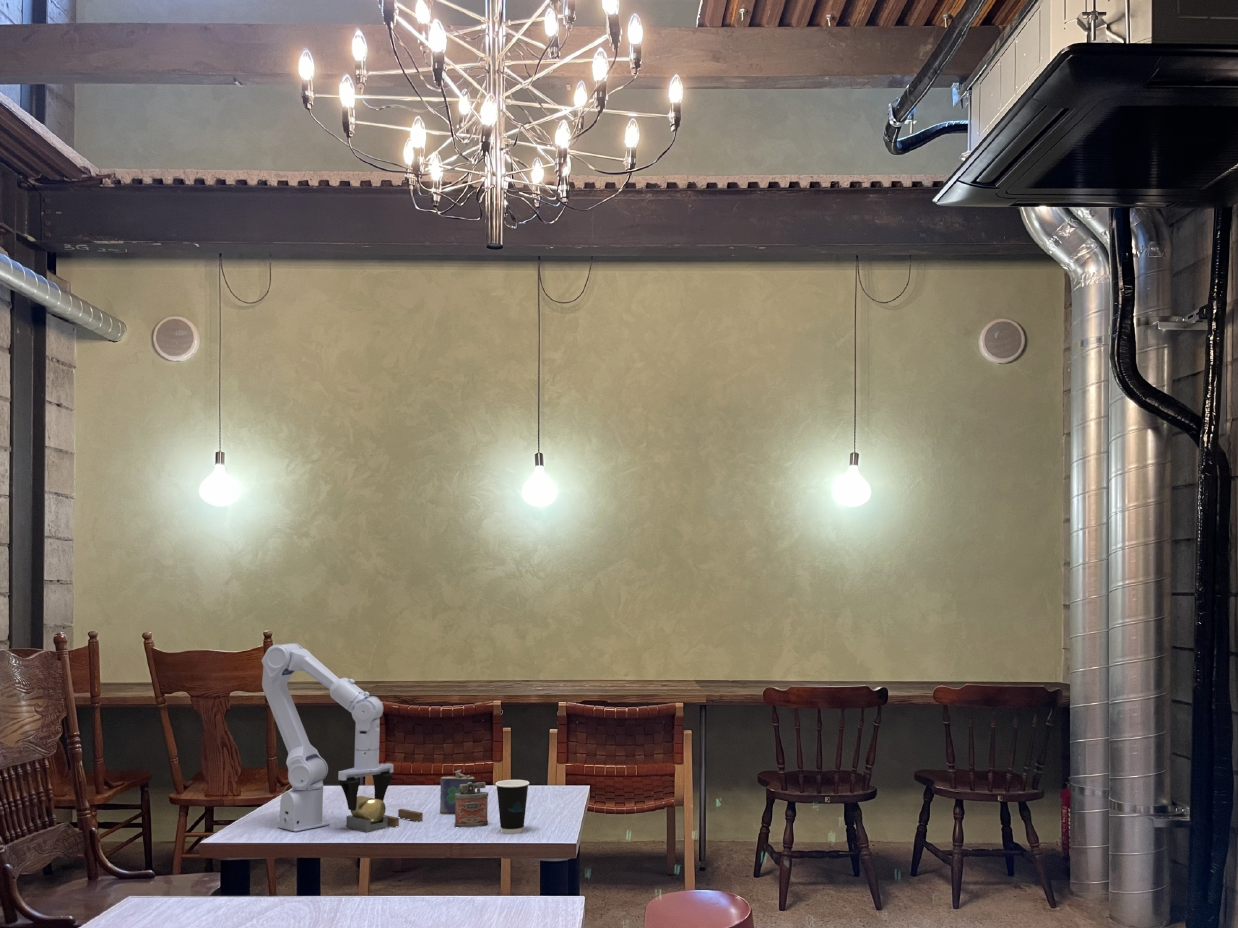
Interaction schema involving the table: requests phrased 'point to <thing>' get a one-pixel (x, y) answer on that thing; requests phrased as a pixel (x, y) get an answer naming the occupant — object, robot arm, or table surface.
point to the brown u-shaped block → (407, 815)
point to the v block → (365, 823)
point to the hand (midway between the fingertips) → (365, 807)
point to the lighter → (471, 806)
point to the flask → (452, 791)
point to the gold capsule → (369, 808)
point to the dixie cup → (512, 804)
